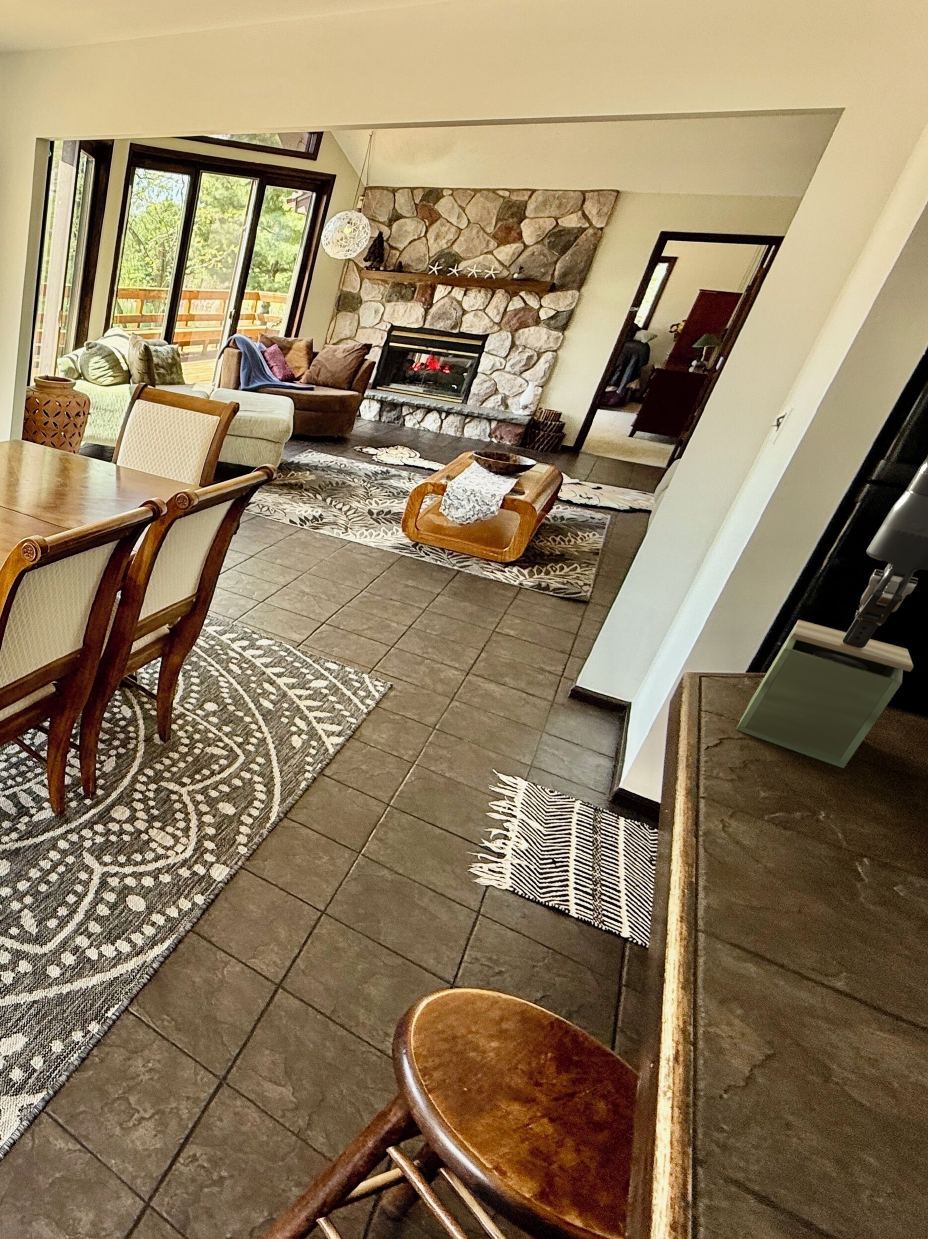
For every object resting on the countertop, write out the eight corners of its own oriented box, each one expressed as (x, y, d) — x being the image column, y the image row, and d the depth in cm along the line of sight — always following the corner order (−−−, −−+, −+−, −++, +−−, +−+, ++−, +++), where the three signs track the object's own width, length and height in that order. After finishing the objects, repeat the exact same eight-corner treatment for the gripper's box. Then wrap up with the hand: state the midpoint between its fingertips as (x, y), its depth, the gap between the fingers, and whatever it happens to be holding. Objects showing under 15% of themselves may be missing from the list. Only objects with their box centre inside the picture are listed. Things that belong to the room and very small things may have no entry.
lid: (910, 671, 99) (913, 666, 99) (790, 637, 107) (793, 632, 107) (904, 653, 109) (907, 649, 109) (795, 624, 117) (798, 619, 117)
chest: (843, 768, 106) (902, 682, 100) (735, 729, 114) (784, 648, 108) (850, 734, 115) (904, 654, 110) (750, 700, 123) (795, 624, 118)
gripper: (970, 546, 92) (889, 667, 99) (968, 530, 100) (893, 644, 107) (881, 528, 97) (810, 645, 104) (885, 514, 105) (819, 624, 112)
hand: (852, 644), depth 105 cm, fingers closed
